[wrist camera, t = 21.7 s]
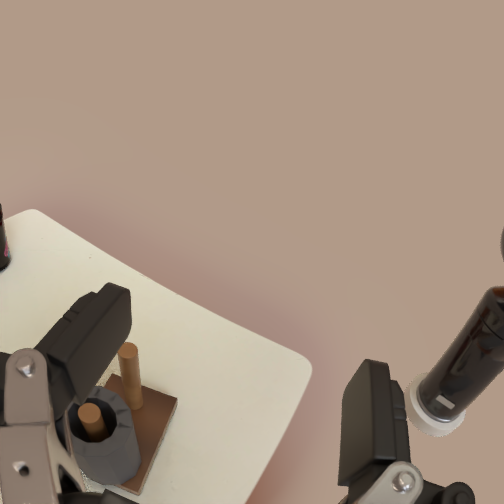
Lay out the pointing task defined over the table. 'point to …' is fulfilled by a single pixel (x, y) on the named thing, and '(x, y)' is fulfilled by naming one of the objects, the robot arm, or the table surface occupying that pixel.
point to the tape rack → (133, 414)
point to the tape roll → (106, 440)
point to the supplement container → (3, 244)
